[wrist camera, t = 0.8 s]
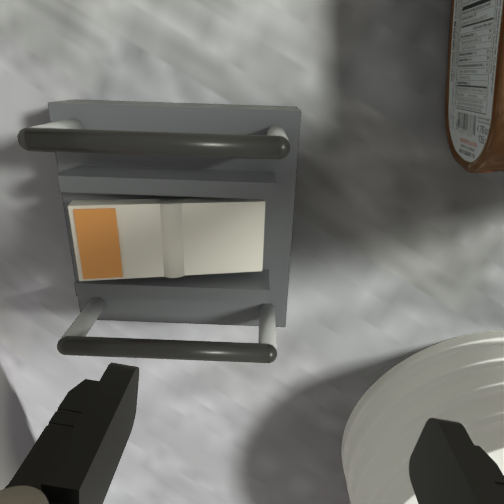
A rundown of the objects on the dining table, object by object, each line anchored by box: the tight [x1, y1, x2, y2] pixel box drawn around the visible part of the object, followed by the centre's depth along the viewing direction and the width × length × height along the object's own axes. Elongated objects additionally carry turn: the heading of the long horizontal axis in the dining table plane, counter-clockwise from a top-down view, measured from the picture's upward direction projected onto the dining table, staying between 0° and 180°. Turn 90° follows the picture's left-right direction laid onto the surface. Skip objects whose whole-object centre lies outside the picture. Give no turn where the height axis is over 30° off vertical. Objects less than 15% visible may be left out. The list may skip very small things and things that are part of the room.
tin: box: [445, 0, 504, 173], centre depth 24 cm, size 15×3×8 cm, turn 7°
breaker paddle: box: [68, 197, 265, 281], centre depth 27 cm, size 12×5×2 cm, turn 88°
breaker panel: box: [18, 100, 301, 363], centre depth 28 cm, size 16×16×10 cm
